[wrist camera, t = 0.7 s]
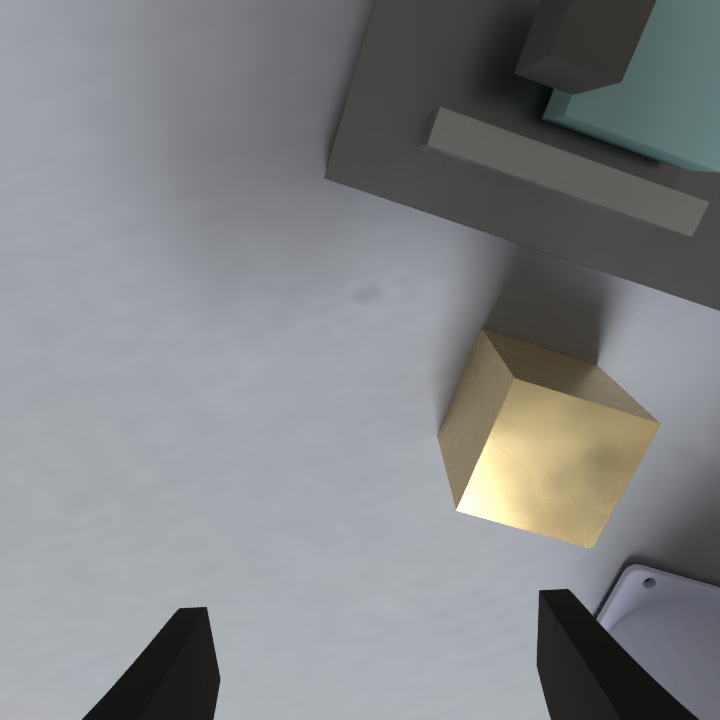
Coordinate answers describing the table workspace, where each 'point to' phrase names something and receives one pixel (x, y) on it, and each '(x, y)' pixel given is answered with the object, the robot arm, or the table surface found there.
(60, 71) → the table surface
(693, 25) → the teal and grey block
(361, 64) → the press bed
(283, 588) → the table surface
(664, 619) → the robot arm
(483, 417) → the block
